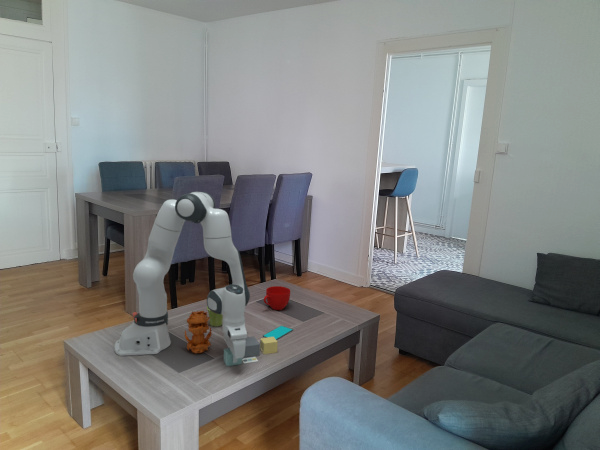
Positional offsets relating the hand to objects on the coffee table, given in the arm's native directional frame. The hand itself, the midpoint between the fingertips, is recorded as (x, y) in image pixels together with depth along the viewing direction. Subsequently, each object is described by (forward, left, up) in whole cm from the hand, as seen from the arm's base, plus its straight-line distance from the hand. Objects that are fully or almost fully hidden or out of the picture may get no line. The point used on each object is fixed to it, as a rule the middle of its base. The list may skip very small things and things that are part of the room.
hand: (232, 358), depth 176 cm
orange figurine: (-11, +14, -2) cm, 18 cm away
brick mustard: (+17, +5, -2) cm, 18 cm away
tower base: (+8, +6, -2) cm, 10 cm away
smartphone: (+27, +20, -2) cm, 34 cm away
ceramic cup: (+36, +49, -2) cm, 61 cm away
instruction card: (+7, -1, -2) cm, 7 cm away
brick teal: (0, 0, -2) cm, 2 cm away
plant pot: (+2, +38, -2) cm, 38 cm away
